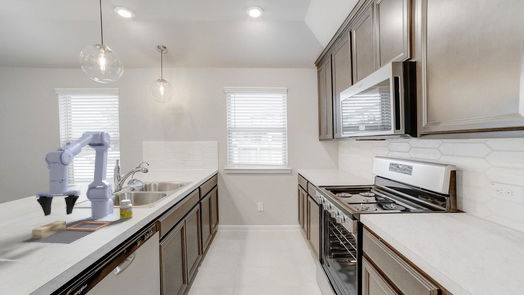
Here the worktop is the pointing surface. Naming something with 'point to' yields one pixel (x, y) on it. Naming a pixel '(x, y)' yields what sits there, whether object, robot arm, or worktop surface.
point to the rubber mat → (69, 233)
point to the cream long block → (48, 229)
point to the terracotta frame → (88, 228)
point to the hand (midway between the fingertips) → (58, 214)
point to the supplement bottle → (126, 210)
